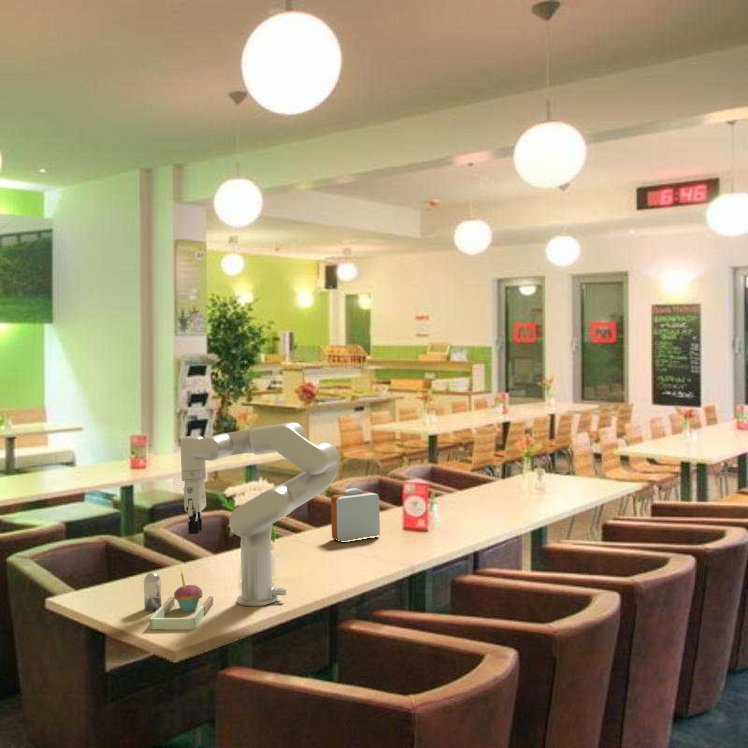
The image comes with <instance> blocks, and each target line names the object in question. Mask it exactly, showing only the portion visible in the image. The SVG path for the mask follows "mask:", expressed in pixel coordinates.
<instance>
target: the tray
mask: <svg viewBox="0 0 748 748" xmlns="http://www.w3.org/2000/svg"><path fill="white" fill-rule="evenodd" d="M163 616H164V606H162V605H161V607H160V608H159V609H158V610H157V611H155V613H153V615H152V616H151V617H150V618H149V620H148V621H149V630H150V629H165V630H195V629H196V628H197V626H198V625H199V623H200V622H201V621H202V619H203V618H204V617H205V615H204V605H203V604H201V605H200V607H199V608H198V609H197V611H196V612H195V613H194V614H193V616H192V617H165V616H164V617H163Z"/></svg>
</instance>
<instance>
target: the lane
mask: <svg viewBox="0 0 748 748" xmlns="http://www.w3.org/2000/svg"><path fill="white" fill-rule="evenodd" d="M202 605H204V616H206V615H207V614H208V612H209V611H210V609H212V607H213V605H214V596H213V595H211V596H210V595H209V596H208V597H207V599H205V600H204V603H203V604H202ZM161 606H164V617H165V616H166V615H167V614H168V613H169V612H170V610H171V609H172V608H173V607H174V606H175V599H174V596H169V597H168V599H167V600H166V601H165V602H164V603H163V604H161ZM167 612H168V613H167Z"/></svg>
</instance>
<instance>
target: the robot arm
mask: <svg viewBox="0 0 748 748" xmlns="http://www.w3.org/2000/svg"><path fill="white" fill-rule="evenodd" d="M271 453H277V454H279V455H281V456H282V457H283V458H284V459H286V460H287V461H289V462H290V463H291V464H292V465H294V466H295V467H297V468H298V469H300V470H301V471H302V472H301V473H299V474H297V475H296V476H294V477H292V478H291V479H289V480H287V481H285V482H283V483H280V484H279V485H275V486H274V487H272V488H269V489H266V491H264V492H261V493H260V494H258V495H256V496H255V497H253V498H251V499H250V500H248V501H246V502H245V503H243V504H241V505H240V506H237V507H236V508H235V509H233V511H232V512H231V514H230V517H229V520H228V524H229V525H228V526H229V528H230V530H231V531H232V533H233V534H234V535H236V536H238V537H240V569H241V571H240V572H241V573H240V574H241V576H240V577H241V594H240V595H238V596H237V597H236V602H237V604H238V605H241V606H247V607H261V606H267V604H268V605H271V604H273V602H274V603H275V602H277V600H278V596H287V588H284V587H275V583H273V568H272V563H273V561H272V532H273V531H272V530H273V524H275V523H276V522H278V521H281V519H283V518H285V517H286V516H288V515H289V514H291V513H292V512H293V511H294V510H296V509H297V508H299V507H301V506H302V505H304V504H305V503H307V502H309V501H310V500H312V499H314V498H316V497H317V496H319V495H320V494H322V493H323V492H324V491H325V490H326V489H328V487H330V486H331V484H332V483H333V482H334V480H335V479H336V477H337V475H338V473H339V468H340V455H339V451H338V449H337V447H335V446H334V445H333V444H331V443H328V442H322V443H321V442H320V443H317V444H313V443H312V442H311V441H309V440H308V439H306V431H305V428H304V427H303V426H302V425H301V424H300V423H297V422H284V423H278V424H277V423H276V424H272V425H264V426H257V427H251V428H250V429H244V430H238V431H231V432H225V433H219V434H214V435H211V436H207V437H203V436H201V435H190V436H189V435H188V436H184V437H182V438H181V439H180V464H181V465H180V468H181V469H180V470H181V473H180V474H181V481H183V482H184V484H183V485H184V486H183V487H184V488H183V491H184V493H183V495H184V496H183V505H184V511H185V512H186V513H187V521H188V523H187V524H188V528H187V529H188V534H189V535H198V534H199V533H200V532H201V531H202V530H203V523H202V522H203V521H202V511H203V510H204V509H205V508H206V507H207V498H206V497H207V495H206V485H205V483H206V482H205V480H206V478H207V477H206V476H207V475H206V474H207V473H206V471H207V470H206V461H210V462H211V461H212V462H213V461H217V460H220V459H222V458H226V457H230V456H236V455H241V454H242V455H243V454H254V455H256V456H257V455H258V456H259V455H266V454H271Z"/></svg>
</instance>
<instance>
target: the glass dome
mask: <svg viewBox="0 0 748 748" xmlns="http://www.w3.org/2000/svg"><path fill="white" fill-rule="evenodd" d="M161 579H162V578H161V577H160V575H159V574H158V573H156V572H149V573H147V574H146V575H145V577H144V580H143V594H144V595H143V599H144V602H143V603H144V611H145V612H148V611H153V612H156V610H158V609H159V608H160V607H161V606H162V586H161V585H162V581H161Z"/></svg>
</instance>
